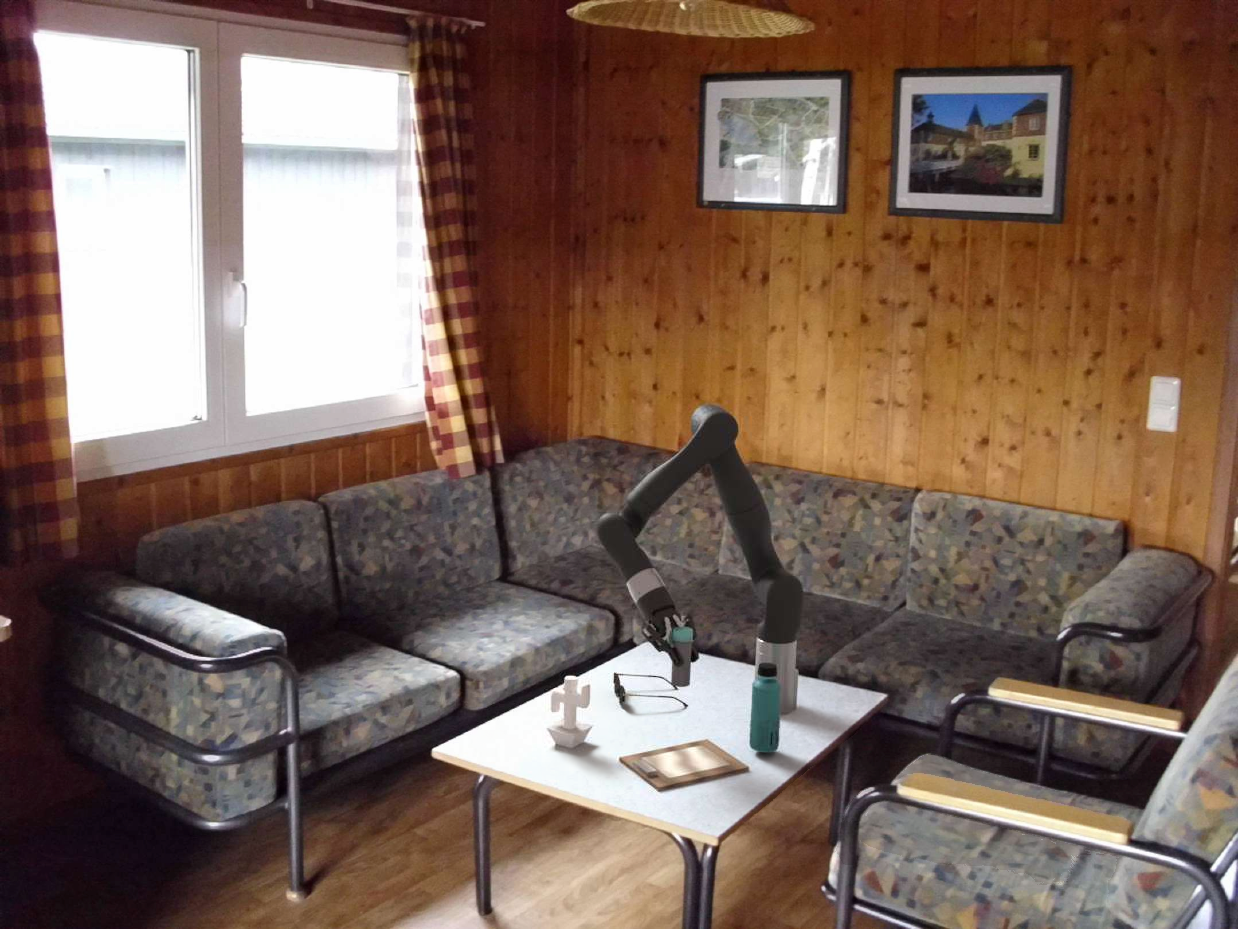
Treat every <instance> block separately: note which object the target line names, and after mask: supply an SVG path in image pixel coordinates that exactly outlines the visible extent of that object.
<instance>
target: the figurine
mask: <svg viewBox="0 0 1238 929" xmlns="http://www.w3.org/2000/svg"><path fill="white" fill-rule="evenodd" d="M563 680H564V683H563V684H564V685H563V687H562V688H559V687H557V688H556V687H555V688H553V689H552V691H551V694H550V711H551V713H558V712H559V711H560V708H561V704H562V703H563V719H561V720H558V721H557V722H555V723H554V724H552V725H549V726H548V727H546V730H547V731H548V733H549V735H550V737H551V738H552V740H553V742H554V743H555V745H559V746H563V747H566V748H569V749H573V748H576V747H577V746H579V745H580V744H582V743H584V742H585V740H586V738H587V736H588V735H589V733H590V731H591V730H592V729H593V726H594V725H592V724H589V723H586V722H582V721H578V720H577V709H578V708H581V709H586V708H588V707H589V706H590V702H591V685H590V684H591V683H589V682H585V683H582V685H581V687H580V688H581V690H580V693H578V683H579V682H578V681H579V678H578V677H577V676H576V675H566V676H565V677H564V679H563Z"/></svg>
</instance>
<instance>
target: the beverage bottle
mask: <svg viewBox="0 0 1238 929" xmlns="http://www.w3.org/2000/svg"><path fill="white" fill-rule="evenodd" d="M758 675H760V676H762V677H759V678H758V679H756V680H755V679H754V681H753V682H751V683H752V684H751V686H752V687H751V688H752V689H751V705H750V706H751V709H750V720H749V721H750V723H749V735H748V736H749V740H748V742H749V745H750V746H749V747H750V748H751V749H752V750H754V751H757V752H761V753H772V752H776V751H777V750H778V749H779V747H780V739H781V736H780V729H781V728H780V727H781V715H780V711H781V710H780V709H781V708H780V707H781V684H780V683H779V682H778V681H777V680H776V679H775V678H772V677H775V676H777V666H776V665H775V664H773V663H767V662H765V663H760V664H759V666H758Z"/></svg>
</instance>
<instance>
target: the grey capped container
mask: <svg viewBox="0 0 1238 929" xmlns="http://www.w3.org/2000/svg"><path fill="white" fill-rule="evenodd" d="M692 639H693V629H691V628H688V627H675V628H674V629H673V641H674V644H675V647H674V648H676V647H677V649H678V651H679V653H680V655H681V656H682V658H683V660H684V664H683V665H682V666H680V667H676V665H674V664H673V662H672V661H671V676H670V678H671V681H670V682H671V684H672V685H674V686H676V687H677V688H678V687H679V688H686V687H688V686H690V685H691V672H692V671H691V668H692V662H691V650H692ZM671 684H670V685H671ZM672 685H671V686H672Z"/></svg>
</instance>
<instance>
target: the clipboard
mask: <svg viewBox="0 0 1238 929" xmlns="http://www.w3.org/2000/svg"><path fill="white" fill-rule="evenodd" d="M618 761H619V762H620V763H621V764H622V765H624V766H625V767H627V768H628V769H629V770H630V771H632V772H633V773H634V774H636V775H637V776H638V777H639V778H641V779H642V780H643V781H645V782H646V783H647V784H648V785H650V786H651V787H653V788H654V789H655V790H657V791H658V792H660V791H664V790H669V789H673V788H678V787H682V786H683V787H684V786H687V785H691V784H696V783H700V782H705V781H710V780H713V779H718V778H722V777H726V776H732V775H735V774H739V773H744V772H749V771H750V766H749V765H747V764H746V763H744V762H742V761H741V760H739V759H738V758H737V757H736V756H733V755H732V754H730V753H728V752H727V751H726V750H725V749H723V748H721V747H720V746H718V745H717V744H715V743H714V742H712V741H711V740H709V739H708V738H705V739H701V740H696V741H692V742H687V743H686V742H685V743H681V744H676V745H671V746H667V747H662V748H658V749H652V750H649V751H642V752H639V753H634V754H633V753H632V754H629V755H623V756H620V757H618Z"/></svg>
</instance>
